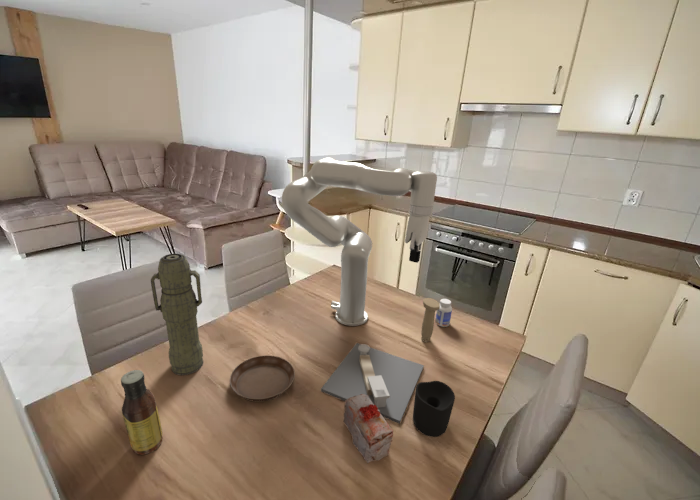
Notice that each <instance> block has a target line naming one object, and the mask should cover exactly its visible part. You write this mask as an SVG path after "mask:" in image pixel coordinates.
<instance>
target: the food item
mask: <svg viewBox="0 0 700 500" xmlns="http://www.w3.org/2000/svg"><path fill="white" fill-rule="evenodd" d="M344 403H345V404H344V409H343V410H344V412H343V423H344V425H345V426H346V428H347V429H348V431H349V433H350V434H351V437H352V444H353V445H354V447H355V448H357V451H358V452H359V453H360V454H361V455H362V457H363V459H364V461H365V462H366V464H370V462H375V461H380V460H382V459H384V458H386V457H387V456H389V455H390V448H391V445H392V442H393V437H394V430H393V428H391V426H390V425H389V423H388V422H387V421H386V418H384V417H383V416H382V415H381V414H380V410H378V408H377V407H376V405H374V404H373V403H372V401H371V400H370V398H369V396H368V395H365V394H360V395H357V396H353V397H350V398H348V399H347V400H346V401H344Z"/></svg>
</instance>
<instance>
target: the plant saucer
mask: <svg viewBox="0 0 700 500" xmlns="http://www.w3.org/2000/svg"><path fill="white" fill-rule="evenodd" d="M295 374H296V372H295V369H294V366H293V365H292V363H291V362H289V361H288V360H287V359H284V358H282V357H279V356H275V355H269V354H267V355H259V356H254V357H253V356H252V357H251V358H248V359H246V360H243V362H241V363H239V364H238V365H237V366H236V367H235V368H234V369H233V370H232V372H231V374H230V377H229V385H230V388H231V389H232V391H233V392H234V393H235V394H237V396H239V397H240V398H243V399H245V400H247V401H251V402H258V403H259V402H260V403H261V402H267V401H272V400H273V399H276V398H277V397H279V396H281V395H282V394H283V393H285V392H286V391H287V390H288V389H289V388H290V386H291V385H292V383H293V382H294V380H295V376H296V375H295Z"/></svg>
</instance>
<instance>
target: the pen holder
mask: <svg viewBox="0 0 700 500" xmlns="http://www.w3.org/2000/svg"><path fill="white" fill-rule="evenodd" d="M414 393H415V394H414V401H413V411H412V423H413V425H414V427H415V428H416V429H417V431H418V432H419V433H421V434H422V435H425V436H427V437H430V438H437V437H441V436H443V435H444V434H445V433H446V432H447V429H448V425H449V423H450V419H451V415H452V411H453V407H454V404H455V400H456V395H455V392H454V390H453V389H452V388H451V387H450V386H449V385H448V384H447V383H445V382H442V381H440V380H433V381H421V382H417V384H416V387H415V390H414Z"/></svg>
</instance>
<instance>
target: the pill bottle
mask: <svg viewBox="0 0 700 500" xmlns="http://www.w3.org/2000/svg"><path fill="white" fill-rule="evenodd" d="M439 304H440V308H439V310H436V312H435V318H434V324H436V325H437V326H439V327H441V328H445V327H449V326H450V324H451V318H452V312H453V307H452V301H451V300H450V299H448V298H441V299H440V300H439Z"/></svg>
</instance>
